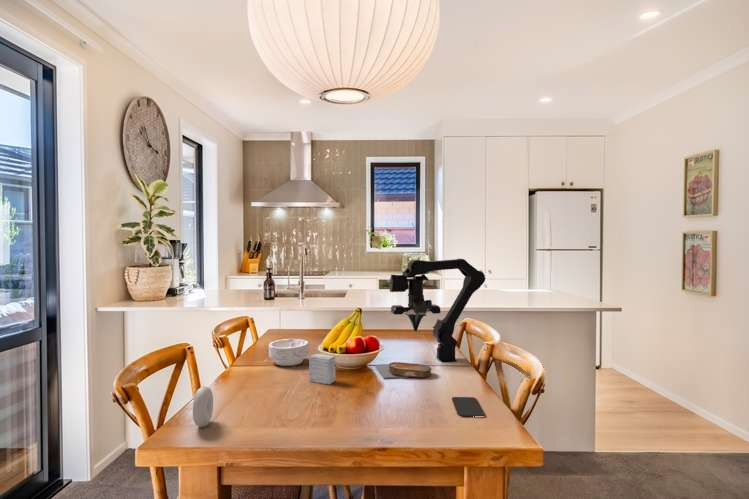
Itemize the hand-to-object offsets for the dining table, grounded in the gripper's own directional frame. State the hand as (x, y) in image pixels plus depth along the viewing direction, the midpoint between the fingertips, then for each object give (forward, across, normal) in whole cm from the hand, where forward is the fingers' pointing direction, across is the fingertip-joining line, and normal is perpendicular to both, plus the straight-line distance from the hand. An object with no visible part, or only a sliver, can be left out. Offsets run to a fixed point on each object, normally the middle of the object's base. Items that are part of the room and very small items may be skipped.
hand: (415, 331), depth 180 cm
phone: (+13, +2, -50) cm, 51 cm away
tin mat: (+12, -12, -12) cm, 21 cm away
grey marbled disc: (+12, -71, -50) cm, 88 cm away
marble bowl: (+12, -49, +6) cm, 51 cm away
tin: (+10, -6, -13) cm, 17 cm away
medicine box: (+12, -38, -19) cm, 44 cm away
